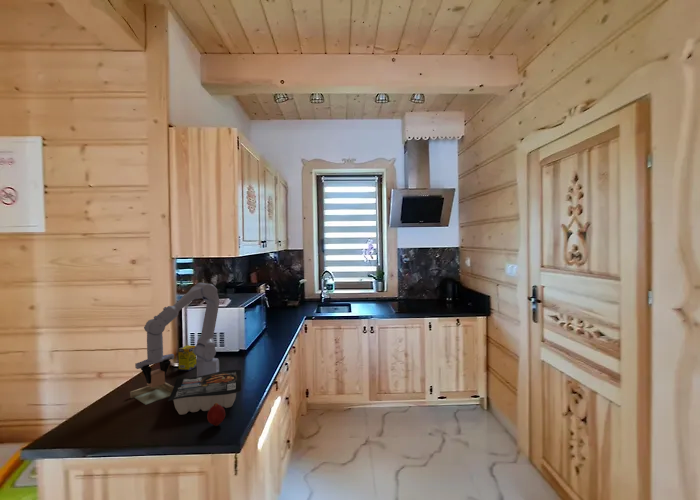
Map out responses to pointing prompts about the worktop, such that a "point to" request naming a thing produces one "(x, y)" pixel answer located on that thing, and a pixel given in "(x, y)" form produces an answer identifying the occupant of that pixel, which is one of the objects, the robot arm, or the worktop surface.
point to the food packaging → (206, 391)
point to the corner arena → (152, 393)
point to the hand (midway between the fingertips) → (155, 380)
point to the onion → (216, 414)
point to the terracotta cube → (157, 378)
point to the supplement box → (187, 358)
